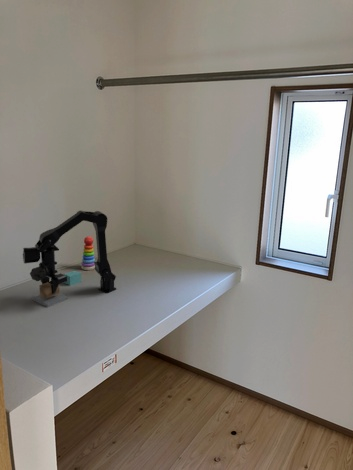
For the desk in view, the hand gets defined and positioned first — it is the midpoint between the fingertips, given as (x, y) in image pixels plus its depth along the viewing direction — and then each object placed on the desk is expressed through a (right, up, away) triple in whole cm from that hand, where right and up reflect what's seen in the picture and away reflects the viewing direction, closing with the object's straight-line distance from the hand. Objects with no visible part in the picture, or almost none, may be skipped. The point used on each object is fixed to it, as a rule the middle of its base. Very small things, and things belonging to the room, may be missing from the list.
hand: (49, 292), depth 173 cm
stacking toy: (+8, +7, +41) cm, 43 cm away
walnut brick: (0, -1, 0) cm, 1 cm away
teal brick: (+5, +2, +21) cm, 22 cm away
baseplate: (0, -4, +1) cm, 4 cm away
